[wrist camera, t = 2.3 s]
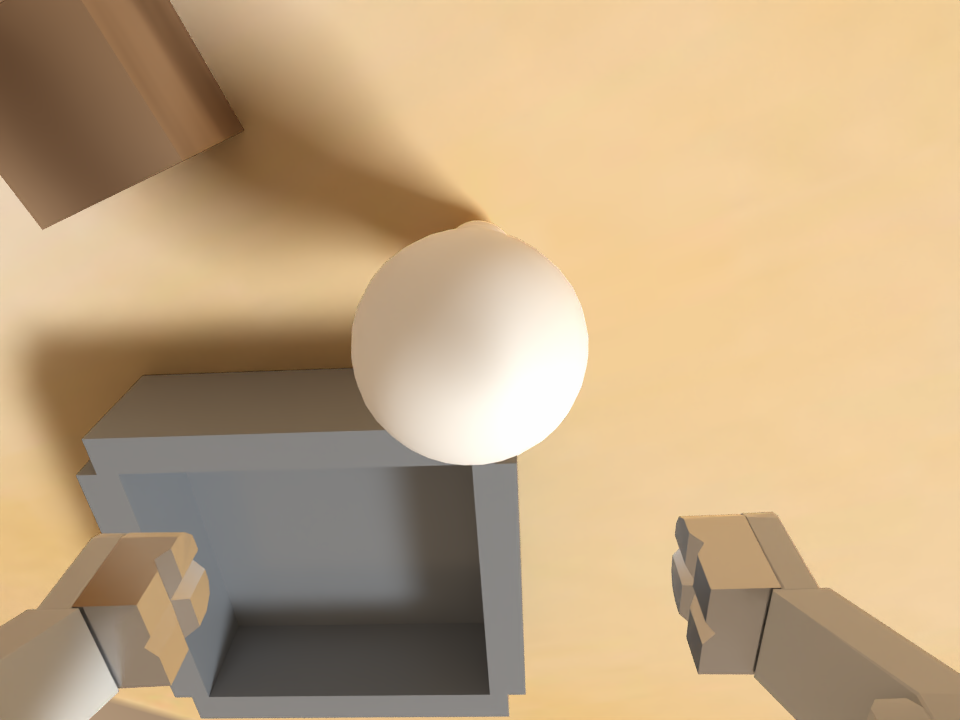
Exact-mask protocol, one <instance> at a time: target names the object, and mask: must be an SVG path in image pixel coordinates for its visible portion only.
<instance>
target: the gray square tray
mask: <svg viewBox="0 0 960 720" xmlns="http://www.w3.org/2000/svg"><path fill="white" fill-rule="evenodd" d="M82 441H83V444H84V446H85V448H86V451H87V453H88V455H89V458H90V460H89V461H88V462H87V464H86V465H85V466H84V467H83V468H82V469H81V470H80V471H79V472H78V474H77V475H76V477H77V479H78V481H79V484H80V486H81V488H82V490H83V492H84V495H85V497H86V499H87V501H88V504H89V506H90V508H91V510H92V513H93V515H94V517H95V519H96V522H97V524H98V526H99V528H100V530H101V533H127V534H128V533H155V532H186V533H188V534H191V535H193V538H194V540H195V543H196V545H197V548H198V551H197V553H196V555H195V556H194V558H193V560H194V561H195V562H197V563H198V564H199V565H200V566H202V567H203V568H204V569H205V571H206V574H207V577H208V580H209V591H210V595H209V600H208V606H207V611H206V614H205V616H204V618H203V620H202V622H201V625H200V626H199V627H198V628H197V629H196V630H194V631H193V632H192V633H191V634H189V635H188V636H187V637H186V638H185V639H186V643H187V646H188V649H189V650H188V652H187V654H186V656H185V658H184V660H183V662H182V664H181V666H180V669H179V671H178V673H177V675H176V677H175V679H174V681H173V683H172V685H171V686H170V687H171V689H172V691H173V693H174V696H175V697H192V698H193V701H194V703H195V705H196V708H197V710H198V712H199V715H200V717H201V718H338V717H492V716H509V695H520V694H525V664H524V634H523V605H522V579H521V552H520V525H519V498H518V471H517V455H516V456H514V457H511V458H508V459H506V460H503V461H499V462H494V463H489V464H484V465H458V464H450V463H444V462H440V461H437V460H433V459H430V458H427V457H425V456H423V455H421V454H418V453H416V452H414V451H412V450H410V449H409V448H407V447H406V446H405V445H403V444H402V443H400V442H399V441H397V440H396V439H395V438H394V437H392V436H391V435H390V434H389V433H388V432H387V431H386V430H385V429H384V428H383V427H382V426H381V425H380V424H379V423H378V422H377V421H376V419H375V418H374V417H373V415H372V414H371V412H370V411H369V409H368V408H367V406H366V405H365V402H364V400H363V398H362V395H361V393H360V390H359V388H358V385H357V382H356V379H355V375H354V370H353V368H342V369H314V370H286V371H258V372H230V373H202V374H173V375H145V376H142V377H141V378H140V379H139V380H138V381H137V382H136V383H135V384H134V385H133V386H132V387H131V388H130V389H129V390H128V391H127V393H126V394H125V395H124V396H123V397H122V398H121V399H120V400H119V401H118V402H117V403H116V404H115V405H114V406H113V407H112V408H111V409H110V410H109V411H108V412H107V413H106V414H105V415H104V416H103V418H102V419H101V420H100V421H99V422H98V423H97V424H96V425H95V426H94V427H93V428H92V429H91V430H90V431H89V432H88V433H87V434H86V435H85V436H84V437H83V438H82Z"/></svg>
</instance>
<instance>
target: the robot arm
mask: <svg viewBox="0 0 960 720" xmlns="http://www.w3.org/2000/svg"><path fill="white" fill-rule="evenodd" d="M675 537H676V539H677V542H678V545H679V549H678V550H677V551H676V552H675V553H674V554H673V557H672V586H673V592H674V597H675V602H676V605H677V608H678V612H679V614H680V615H681V616H682V617H684V618H685V619H686V620H687V621H688V629H687V641H688V644H689V647H690V650H691V653H692V656H693V659H694V662H695V666H696V669H697V672H698V674H755V675H754V678H755V679H756V680H757V681H758V682H759V683H760V684H761V685H762V686H763V687H764V688H765V689H766V690H767V691H768V692H769V693H770V694H771V695H772V696H773V697H774V698H775V699H776V700H777V701H778V702H779V703H780V704H781V705H782V706H783V707H784V708H785V709H786V710H787V711H788V712H789V713H790V714H791V715H792V716H793V717H794V718H795V719H796V720H960V674H959V673H958V672H956V671H955V670H953V669H952V668H950V667H949V666H947V665H946V664H944V663H943V662H941V661H940V660H938V659H937V658H935V657H934V656H932V655H931V654H929V653H928V652H926V651H924V650H923V649H921V648H920V647H918V646H917V645H915V644H914V643H912V642H911V641H909V640H908V639H906V638H905V637H903V636H902V635H900V634H899V633H897V632H896V631H894V630H893V629H891V628H890V627H888V626H887V625H885V624H883V623H882V622H880V621H879V620H877V619H876V618H874V617H873V616H871V615H870V614H868V613H867V612H865V611H864V610H862V609H861V608H859V607H858V606H856V605H855V604H853V603H852V602H850V601H849V600H847V599H846V598H844V597H842V596H841V595H839V594H838V593H836V592H835V591H833V590H832V589H830V588H819V586H818V584H817V582H816V581H815V579H814V577H813V576H812V574H811V572H810V570H809V569H808V567H807V565H806V564H805V562H804V560H803V558H802V557H801V555H800V553H799V551H798V550H797V548H796V546H795V545H794V543H793V541H792V539H791V538H790V536H789V534H788V533H787V531H786V529H785V527H784V526H783V524H782V522H781V520H780V519H779V517H778V516H777V515H776V514H775V513H773V512H761V513H741V514H726V515H701V516H679V518H678V520H677V523H676V530H675ZM197 551H198V548H197V545H196V543H195V540H194V538H193V535H191V534H188V533H186V532H155V533H128V534H127V533H101V534H99V535H97V536H95V537H93V538H91V540H90V541H89V542H88V543H87V545H86V546H85V547H84V549H83V550H82V551H81V552H80V554H79V555H78V556H77V558H76V559H75V560H74V562H73V563H72V564H71V565H70V567H69V568H68V569H67V571H66V572H65V573H64V574H63V576H62V577H61V578H60V580H59V581H58V582H57V584H56V585H55V586H54V587H53V589H52V590H51V591H50V593H49V594H48V595H47V597H46V598H45V599H44V600H43V602H42V603H41V604H40V606H39V607H38V608H37V609H35V610H26V611H24V612H23V613H21V614H20V615H18V616H16V617H15V618H13V619H12V620H10V621H8V622H7V623H5V624H4V625H2V626H0V720H89V719H90V718H91V717H92V716H93V715H94V714H95V713H96V712H97V711H99V709H101V708H102V706H104V705H105V704H106V703H107V702H108V701H109V700H110V699H111V698H112V697H113V696H114V695H116V694H117V693H118V692H119V690H118V688H135V687H155V686H171V685H172V683H173V681H174V679H175V677H176V675H177V673H178V671H179V669H180V666H181V664H182V662H183V660H184V658H185V656H186V654H187V652H188V650H189V649H188V646H187V643H186V639H185V638H186V637H187V636H188V635H189V634H191V633H192V632H193V631H194V630H196V629H197V628H198V627H199V626H200V625H201V622H202V620H203V618H204V616H205V614H206V611H207V606H208V600H209V595H210V591H209V580H208V577H207V574H206V571H205V569H204V568H203V567H202V566H200V565H199V564H198V563H197V562H195V561H194V560H193V558H194V556H195V555H196V553H197Z"/></svg>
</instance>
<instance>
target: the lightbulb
mask: <svg viewBox="0 0 960 720" xmlns="http://www.w3.org/2000/svg"><path fill="white" fill-rule="evenodd" d="M351 359H352V365H353V370H354V375H355V379H356V382H357V385H358V388H359V390H360V393H361V395H362V398H363V400H364V402H365V405H366V406H367V408H368V409H369V411H370V412H371V414H372V415H373V417H374V418H375V419H376V421H377V422H378V423H379V424H380V425H381V426H382V427H383V428H384V429H385V430H386V431H387V432H388V433H389V434H390V435H391V436H392V437H394V438H395V439H396V440H397V441H399V442H400V443H402V444H403V445H405V446H406V447H407V448H409V449H410V450H412V451H414V452H416V453H418V454H421V455H423V456H425V457H427V458H430V459H433V460H437V461H440V462H444V463H450V464H458V465H484V464H489V463H494V462H499V461H503V460H506V459H508V458H511V457H514V456H516V455H519V454H521V453H523V452H524V451H526V450H528V449H529V448H531V447H533V446H534V445H536V444H538V443H540V442H541V441H542V440H544V439H545V438H546V437H547V436H548V435H549V434H551V433H552V432H553V431H554V430H555V429H556V428H557V427H558V426H559V424H560V423H561V422H562V420H563V419H564V418H565V417H566V415H567V414H568V412H569V411H570V409H571V407H572V405H573V403H574V401H575V399H576V397H577V395H578V393H579V391H580V389H581V387H582V383H583V379H584V375H585V370H586V366H587V360H588V332H587V327H586V323H585V318H584V314H583V310H582V306H581V304H580V302H579V300H578V297H577V295H576V293H575V291H574V289H573V287H572V285H571V284H570V283H569V281H568V280H567V279H566V277H565V276H564V275H563V273H562V272H561V271H560V269H559V268H558V267H557V266H555V265H554V264H553V263H552V262H551V261H550V260H549V259H548V258H546V257H545V256H544V255H543V254H542V253H541V252H540V251H538V250H537V249H536V248H534V247H532V246H531V245H529V244H527V243H525V242H524V241H522V240H520V239H518V238H516V237H513V236H510V235H507V234H506V233H505V232H504V231H503V230H502V229H501V228H500V227H498V226H497V225H495V224H493V223H490V222H487V221H481V220H476V221H469V222H466V223H464V224H462V225H460V226H458V227H457V228H456V229H450V230H447V231H443V232H439V233H435V234H431V235H429V236H426V237H424V238H422V239H420V240H418V241H416V242H414V243H412V244H410V245H408V246H407V247H405V248H403V249H402V250H401V251H399V252H398V253H397V254H396V255H394V256H393V257H392V258H390V259H389V260H388V261H386V262H385V264H384V265H383V266H382V267H381V268H380V269H379V271H378V272H377V273H376V274H375V275H374V276H373V278H372V279H371V281H370V283H369V285H368V287H367V288H366V290H365V292H364V294H363V296H362V298H361V300H360V302H359V304H358V306H357V310H356V314H355V318H354V321H353V325H352V343H351Z"/></svg>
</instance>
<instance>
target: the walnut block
mask: <svg viewBox="0 0 960 720" xmlns="http://www.w3.org/2000/svg"><path fill="white" fill-rule="evenodd" d="M242 131H244V129H243V127H242V126H241V124H240V122H239V120H238V119H237V117H236V115H235V113H234V112H233V110H232V108H231V107H230V105H229V103H228V101H227V100H226V98H225V96H224V94H223V93H222V91H221V89H220V87H219V86H218V84H217V82H216V80H215V79H214V77H213V75H212V73H211V72H210V70H209V68H208V67H207V65H206V63H205V61H204V60H203V58H202V56H201V54H200V53H199V51H198V49H197V47H196V46H195V44H194V42H193V40H192V39H191V37H190V35H189V33H188V32H187V30H186V28H185V27H184V25H183V23H182V21H181V20H180V18H179V16H178V14H177V13H176V11H175V9H174V7H173V6H172V4H171V2H170V0H4V1H3V2H1V3H0V175H1V176H2V178H3V179H4V180H5V182H6V183H7V184H8V185H9V187H10V188H11V189H12V191H13V192H14V193H15V195H16V196H17V197H18V198H19V200H20V201H21V202H22V204H23V205H24V206H25V208H26V209H27V210H28V212H29V213H30V214H31V215H32V217H33V218H34V219H35V221H36V222H37V223H38V225H39V226H40V227H41V228H42V230H43V229H45V228H47V227H49V226H51V225H53V224H55V223H57V222H59V221H61V220H63V219H66V218H68V217H70V216H72V215H74V214H76V213H78V212H80V211H82V210H84V209H86V208H88V207H90V206H92V205H94V204H96V203H98V202H100V201H102V200H104V199H106V198H108V197H111V196H113V195H115V194H117V193H119V192H121V191H123V190H125V189H127V188H129V187H131V186H133V185H135V184H137V183H139V182H141V181H143V180H145V179H147V178H149V177H151V176H154V175H156V174H158V173H160V172H162V171H164V170H166V169H168V168H170V167H172V166H174V165H176V164H178V163H180V162H182V161H184V160H186V159H188V158H190V157H192V156H194V155H196V154H198V153H200V152H202V151H204V150H206V149H208V148H210V147H212V146H214V145H216V144H218V143H220V142H222V141H224V140H226V139H228V138H230V137H232V136H234V135H236V134H238V133H240V132H242Z"/></svg>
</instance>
